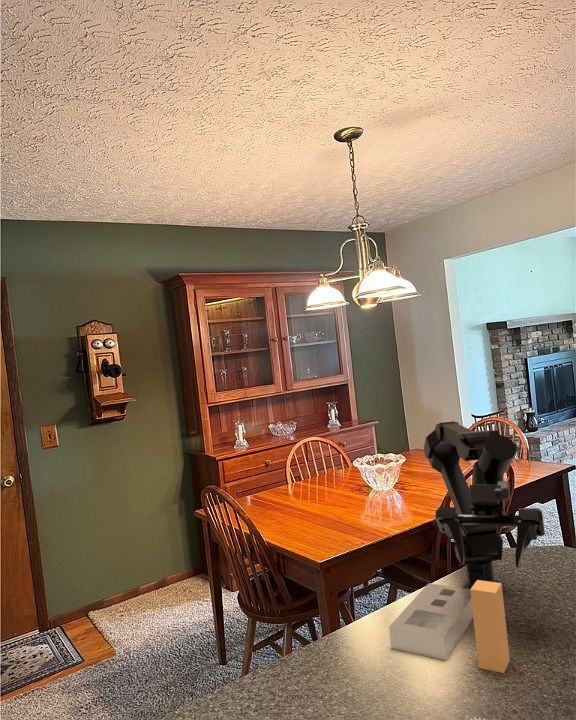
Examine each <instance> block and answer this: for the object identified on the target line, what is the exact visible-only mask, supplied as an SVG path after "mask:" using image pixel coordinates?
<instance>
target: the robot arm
mask: <svg viewBox="0 0 576 720" xmlns="http://www.w3.org/2000/svg"><path fill="white" fill-rule="evenodd" d="M423 453H424V456H425V458H426V460H428V462H429V464H430V466H431V468H432V469H434V470H435V471H437V472H438V473H440V474H441V475H442V479H443V481H444V485H445V487H446V490H447V492H448V494H449V497H450V499H451V501H452V504H453V506H450V507H449V506H439V507H438V508H437V509H436V510H435V519H434V520H435V521H436V524H437V527H438V529H439V532H441V533H442V534H445V535H446V537H448V538H452V540H453V542H454V544H455V546H454V551H455V556H456V559H457V560H458V561H459V562H460V563H461V565H463V566H465V571H466V572H465V573H466V582H465V584H464V585H463V587H462V588H465V589H471V588H472V586H473V585H474V584H475V582H476V581H477V580H481V581H489V582H497V583H501V581H500V580H496V579H495V571H494V569H495V568H494V562H495V561H498V562H499V561H502V560H503V548H504V540H503V537H502V535H501V533H500V532H499V531H498V529H497V527H516V542H515V544H516V545H515V555H514V557H515V558H514V559H515V567H516V569H517V568H520V565H521V563H522V561H523V558H524V555H525V553H526V550H527V548H528V547H529V545H530V543H531V542H532V541H536V540H538V537H543V536H545V534H546V533H545V532H546V531H545V523H544V517H543V516H544V515H543V511H542V510H541V509H540V508H538V507H537V508H535V507H532V508H531V507H530V508H529V507H519V508H518V515H515V514H514V515H511V514H509V515H507V514H506V511H505V509H506V507H505V505H506V504H505V501H511V494H510V493H511V492H510V482H509V481H508V480H505V479H504V476H505V475H504V474H506V473H507V472H508V471H509V469H510V466H511V464H512V462H513V460H514V458H515V456H516V453H517V446H516V443H515V442H514V441H512V440H511V439H510V438H509V437H508V436H505V435H503V434H500V432H499V430H498V429H495V430H472V429H470V428H467V427H465V426H463V425H461V424H460V423H459V422H458V421H455V420H454V421H453V420H452V421H446V422H445V421H443V422H438V423H437V424H436V425H435V427H434V430H433V431H431V432H430V433H429V434H428V435H427V436H426V437H425V441H424V444H423ZM461 459H462V460H463V461H464V462H472V461H475V462H474V463H473V465H472V484H469V485H468V482H467V480H466V477H465V475H464V473H463V470H462V468H461V465H460V462H461Z"/></svg>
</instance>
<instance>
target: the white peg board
mask: <svg viewBox="0 0 576 720" xmlns="http://www.w3.org/2000/svg"><path fill="white" fill-rule="evenodd" d="M472 621H474V619H473V609H472V600H471V591H470V589H465V588H463V587H459V586H458V587H457V586H450V585H443V584H436V583H427V584H426V585H425V587H423V589H422V590H421V591H420V592H419V593H418V594H417V595H416V596H415V598H414V599H412V601H410V603H409V604H408V605H407V606H406V608H405V609H404V610H402V612H401V613H400V614H399V615H398V616H397V617H396V619H394V621H392V623H391V624H390V625H389V626H388V629H389V630H388V631H389V639H390V647H391V649H392V650H395V651H400V652H405V653H410V654H414V655H419V656H423V657H427V658H432V659H438V660H443V661H447V659H448V658H449V657H448V656H450V655H451V653H452V652H453V650H455V647H456V646H457V644H458V643H459V642H460V639H461V638H462V637H463V635H465V632H466V631H467V629H468V628H469V626H470V625H471V623H472Z"/></svg>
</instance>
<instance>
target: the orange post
mask: <svg viewBox="0 0 576 720" xmlns="http://www.w3.org/2000/svg"><path fill="white" fill-rule="evenodd" d="M470 591H471V600H472V609H473V627H474V633H475V634H474V636H475V645H476V655H477V656H476V657H477V664H478V669H483V670H487V671H492V672H496V673H501V674H505V671H506V670H507V667H508V665H509V663H510V661H511V660H510V658H511V657H510V651H509V649H510V648H509V641H508V639H509V638H508V631H507V624H506V623H507V621H506V612H505V603H504V595H503V585H502V583H501V582H500V583H497V582H489V581H481V580H477V581H476V582H475V584H474V585H473V586H472V588H471V589H470Z"/></svg>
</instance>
